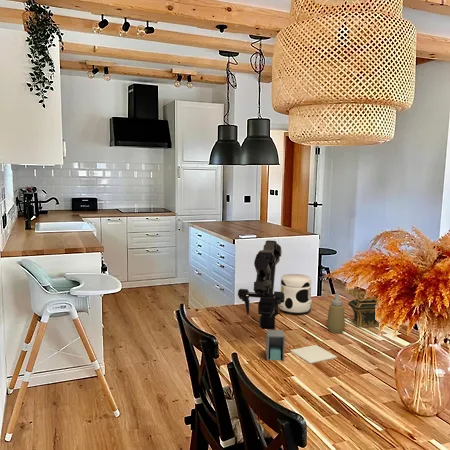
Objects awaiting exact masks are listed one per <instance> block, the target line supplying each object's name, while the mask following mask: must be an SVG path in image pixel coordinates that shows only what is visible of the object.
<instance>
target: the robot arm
mask: <svg viewBox="0 0 450 450" xmlns="http://www.w3.org/2000/svg"><path fill="white" fill-rule="evenodd" d="M282 254H283V253H282V246H281V245H280V244H278V243H277V241H276V240H270V239H269V240H265V243H264V245H263V248H262V250H259V251H258V252H257V254H256V255H255V258H254V261H253V262H254V264H253V265H254V270H255V273H256V278H255V281H254V282H253V292H251V291H249V288H248V289H247V288H239V289H238V290H237V296H238V298H239V299H240V300H241V301H242V302H244V306H245V310H246V311H245V312H246V315H247V316H249V314H250V298H259V301H258V302H257V303H258V304H257V310H258V311H257V313H258V315H260V316H259V319H258V322H259V323H258V324H259V327H260V328H261V329H262V330H264V329H265V330H276V317H277V316H279V304H281V303H284V300H285V296H284V293H283V292H281V291H276V290H275V291H274V289H275V278H276V266H277V264H279V262H280V260H281V259H280V258H281V257H282Z"/></svg>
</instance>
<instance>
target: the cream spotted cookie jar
mask: <svg viewBox="0 0 450 450" xmlns="http://www.w3.org/2000/svg"><path fill="white" fill-rule="evenodd" d="M311 290H312V278H311V276H309V275H305V274H300V273H299V274H298V273H288V274H287V273H286V274H282V275H281V277H280V292H283V293H284V296H285V300H284V303H281V304H278V308H279V309H280V310H281V311H282V312H285V313H288V314H296V315H301V314H306V313H309V312H310V311H311V310H312V306H313V299H312V293H311Z"/></svg>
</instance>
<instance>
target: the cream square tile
mask: <svg viewBox="0 0 450 450" xmlns="http://www.w3.org/2000/svg"><path fill="white" fill-rule="evenodd" d="M290 353H293V354H294V355H296V356H297V357H299V358H300V359H302V360H304V362H307V364H315V363H316V364H317V363H321V362H325V361H328V360H333V359H338V356H337V355H335V354H333V353H331V352H330V351H328V350H327V349H324V348H322V347H321V346H319V345H317V344H314V345H308V346H303V347H299V348H294V349H293V348H292V349H290ZM320 361H321V362H320Z"/></svg>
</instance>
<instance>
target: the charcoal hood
mask: <svg viewBox="0 0 450 450" xmlns="http://www.w3.org/2000/svg"><path fill="white" fill-rule="evenodd" d="M265 331H266V333H265V334H266V337H265V357H266V358H265V359H266V361H267V362H269V361H270V357H269V347H270V346H280V349H281V359H282V362H285V353H286V352H285V345H286V335H285V333H284V330H283V329H265Z"/></svg>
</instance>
